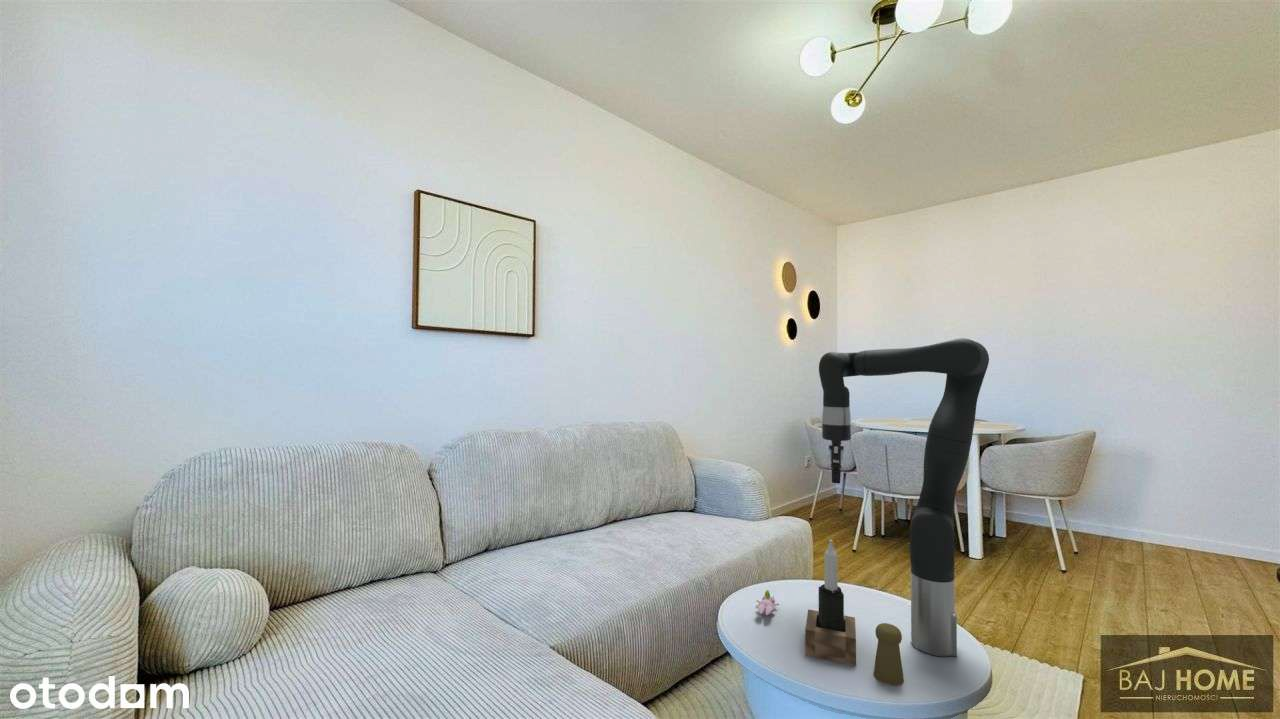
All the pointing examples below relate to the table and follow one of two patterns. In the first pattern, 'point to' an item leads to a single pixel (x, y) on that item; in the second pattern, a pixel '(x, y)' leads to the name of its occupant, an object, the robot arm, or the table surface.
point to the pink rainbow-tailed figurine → (767, 604)
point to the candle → (831, 595)
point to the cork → (888, 655)
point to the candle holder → (830, 640)
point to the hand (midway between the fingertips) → (836, 480)
